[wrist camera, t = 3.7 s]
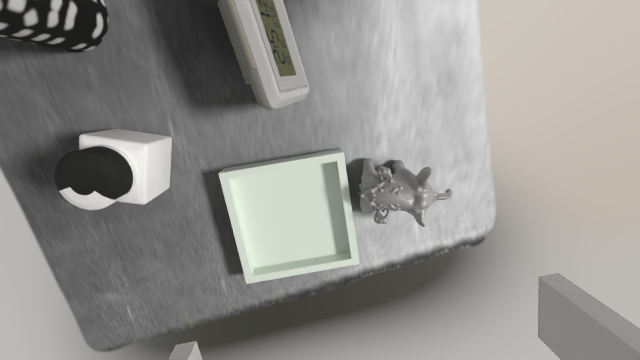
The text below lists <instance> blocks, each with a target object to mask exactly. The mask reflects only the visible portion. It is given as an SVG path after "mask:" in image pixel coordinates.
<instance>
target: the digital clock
mask: <svg viewBox="0 0 640 360" xmlns="http://www.w3.org/2000/svg"><path fill="white" fill-rule="evenodd" d="M217 4H218V7H219V10H220V12H221V15H222V18H223V21H224V24H225V26H226V29H227V32H228V35H229V38H230V41H231V43H232V46H233V49H234V52H235V55H236V57H237V60H238V63H239V66H240V69H241V72H242V74H243V77H244V80H245V83H246V84H247V85H251V87H252V90H253V93H254V95H255V98H256V100H257V102H258V104H259V105H260V106H261V107H263V108H265V109H269V110H272V109H277V108H281V107H284V106H287V105H290V104H293V103H296V102H299V101H302V100H304V99H305V98H306V96H307V94H308V92H309V86H308V82H307V79H306V75H305V72H304V69H303V65H302V62H301V59H300V56H299V52H298V49H297V46H296V42H295V39H294V36H293V32H292V29H291V26H290V23H289V19H288V16H287V13H286V9H285V6H284V3H283V0H219V1H218V3H217Z"/></svg>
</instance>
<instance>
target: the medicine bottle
mask: <svg viewBox="0 0 640 360" xmlns="http://www.w3.org/2000/svg"><path fill="white" fill-rule="evenodd" d="M171 147H172V138H171V137H169V136H163V135H156V134H149V133H143V132H136V131H129V130H123V129H111V130H105V131H99V132H93V133H87V134H81V135H80V136H79V150H76V151H73V152H70V153H68V154H66V155H65V156H63V157H62V158H61V159H60V161H59V162H58V164H57V166H56V169H55V182H56V185H57V188H58V190H59V192H60V193H61V194H62V196H63V197H64V198H65V199H66V200H67V201H69V202H70V203H72V204H73V205H75V206H77V207H80V208H83V209H87V210H98V209H102V208H105V207H107V206H109V205H111V204H112V203H114V202H116V201H119V202H126V203H134V204H142V205H143V204H146V203H148V202H149V201H151V200H152V199H154V198H155V197H157V196H158V195H159V194H161V193H162V192H164V191H165V190H167V189H168V188H169V187H170V168H171Z"/></svg>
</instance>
